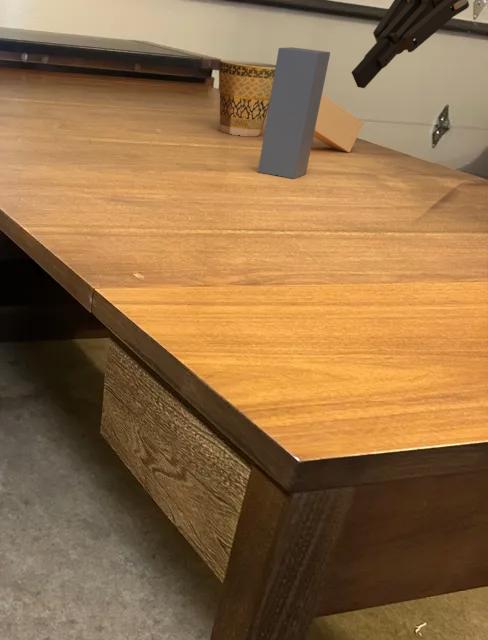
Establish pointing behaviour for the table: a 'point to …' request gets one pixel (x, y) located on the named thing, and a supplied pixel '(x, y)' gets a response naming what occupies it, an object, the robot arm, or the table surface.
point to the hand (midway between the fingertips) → (357, 80)
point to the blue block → (293, 111)
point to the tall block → (336, 125)
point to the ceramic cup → (244, 96)
